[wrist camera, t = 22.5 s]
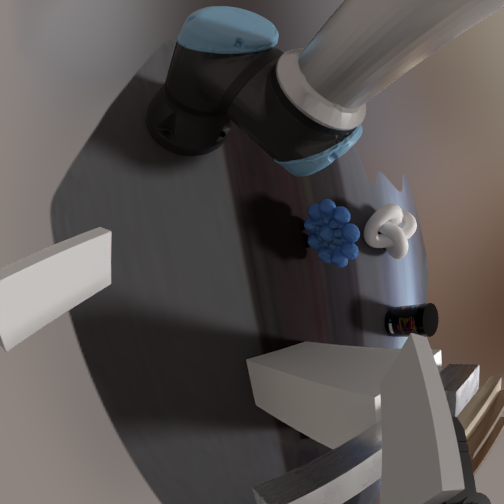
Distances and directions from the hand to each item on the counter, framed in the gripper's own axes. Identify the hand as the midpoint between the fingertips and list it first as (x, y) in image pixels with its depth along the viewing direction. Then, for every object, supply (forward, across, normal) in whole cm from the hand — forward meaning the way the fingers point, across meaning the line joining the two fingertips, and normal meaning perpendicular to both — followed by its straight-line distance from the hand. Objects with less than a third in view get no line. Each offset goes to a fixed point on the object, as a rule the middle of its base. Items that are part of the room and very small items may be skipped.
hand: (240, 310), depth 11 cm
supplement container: (+46, +24, -22) cm, 57 cm away
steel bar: (+6, +13, -12) cm, 19 cm away
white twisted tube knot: (+54, +15, -7) cm, 56 cm away
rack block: (+26, +4, -27) cm, 38 cm away
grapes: (+42, +2, -9) cm, 42 cm away
